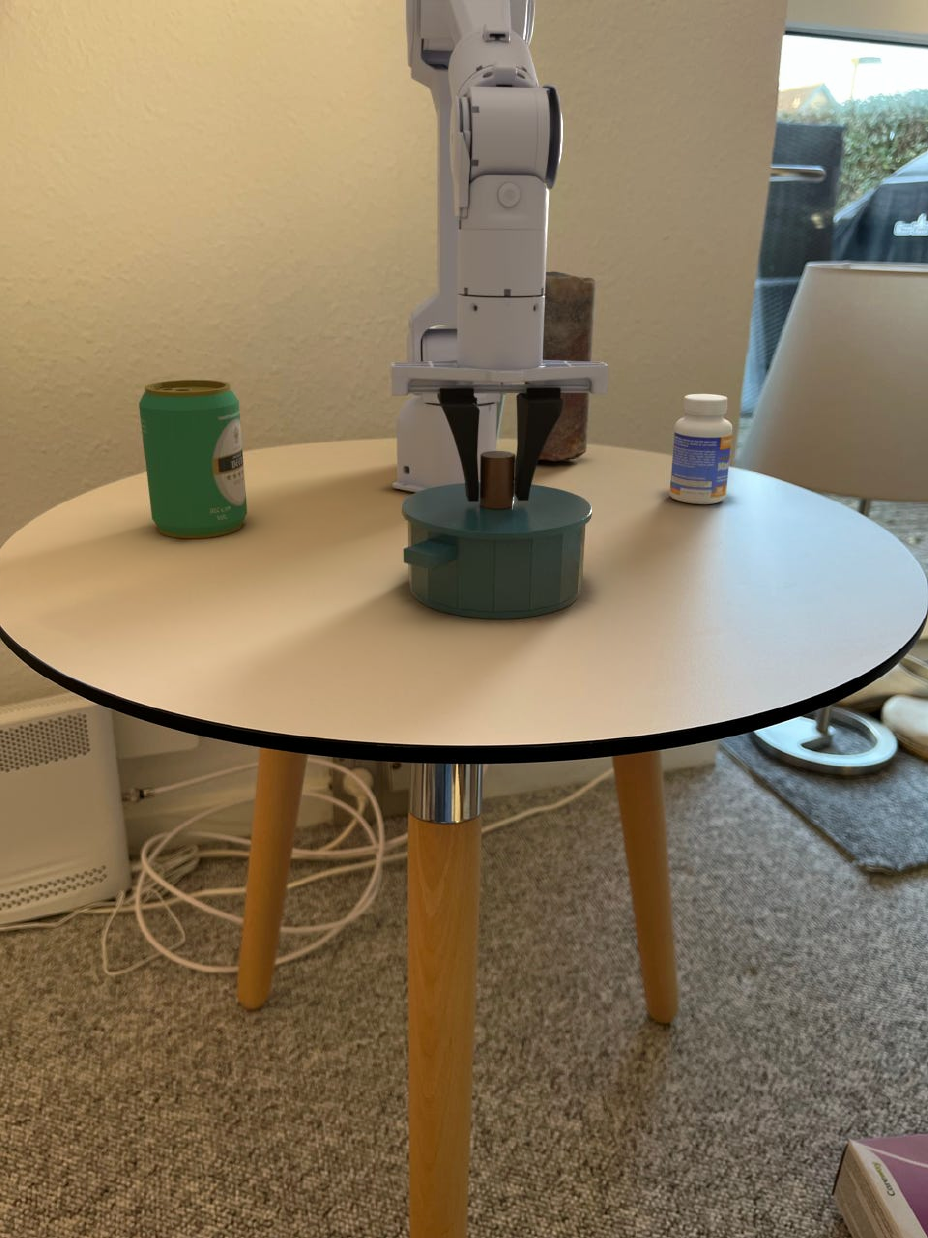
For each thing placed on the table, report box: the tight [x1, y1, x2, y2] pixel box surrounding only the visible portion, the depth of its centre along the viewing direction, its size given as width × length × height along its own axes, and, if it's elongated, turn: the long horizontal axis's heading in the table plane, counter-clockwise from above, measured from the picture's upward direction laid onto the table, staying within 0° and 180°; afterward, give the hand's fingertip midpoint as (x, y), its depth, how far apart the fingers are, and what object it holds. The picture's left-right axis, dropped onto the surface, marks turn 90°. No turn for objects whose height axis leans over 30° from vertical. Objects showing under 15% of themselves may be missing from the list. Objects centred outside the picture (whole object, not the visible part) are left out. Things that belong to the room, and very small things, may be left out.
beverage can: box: [138, 379, 248, 539], centre depth 83 cm, size 8×8×12 cm
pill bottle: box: [669, 393, 733, 505], centre depth 94 cm, size 5×5×10 cm
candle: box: [523, 270, 597, 462], centre depth 107 cm, size 8×7×20 cm
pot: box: [403, 521, 586, 620], centre depth 70 cm, size 12×18×6 cm
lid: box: [401, 450, 593, 540], centre depth 69 cm, size 13×13×5 cm
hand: (496, 497), depth 69 cm, fingers open, 3 cm apart
